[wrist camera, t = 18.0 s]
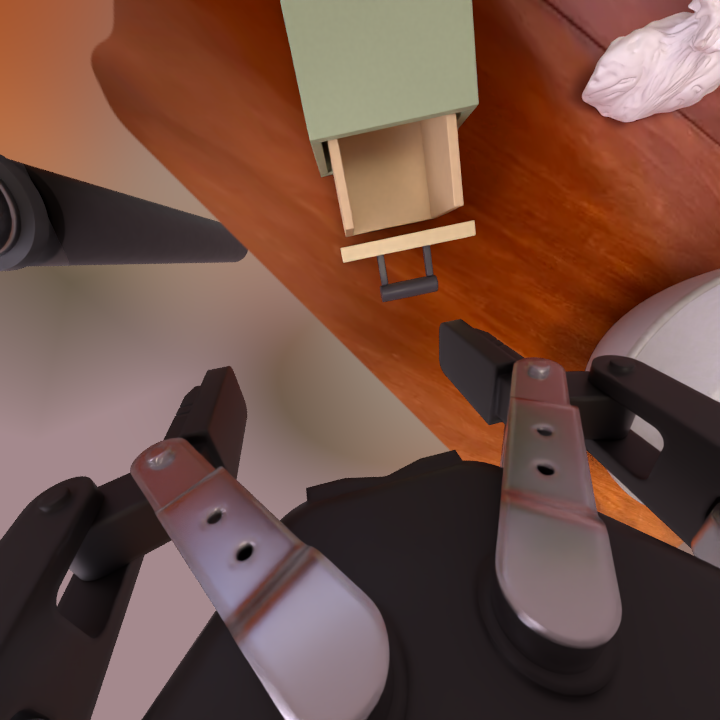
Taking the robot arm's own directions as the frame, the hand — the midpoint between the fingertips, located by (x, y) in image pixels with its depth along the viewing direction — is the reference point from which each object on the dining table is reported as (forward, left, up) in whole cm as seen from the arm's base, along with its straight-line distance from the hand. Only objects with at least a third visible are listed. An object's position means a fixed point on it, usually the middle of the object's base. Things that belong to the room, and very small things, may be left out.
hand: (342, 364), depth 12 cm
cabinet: (+6, +20, -26) cm, 33 cm away
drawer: (+6, +8, -25) cm, 27 cm away
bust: (+32, +15, -26) cm, 44 cm away
